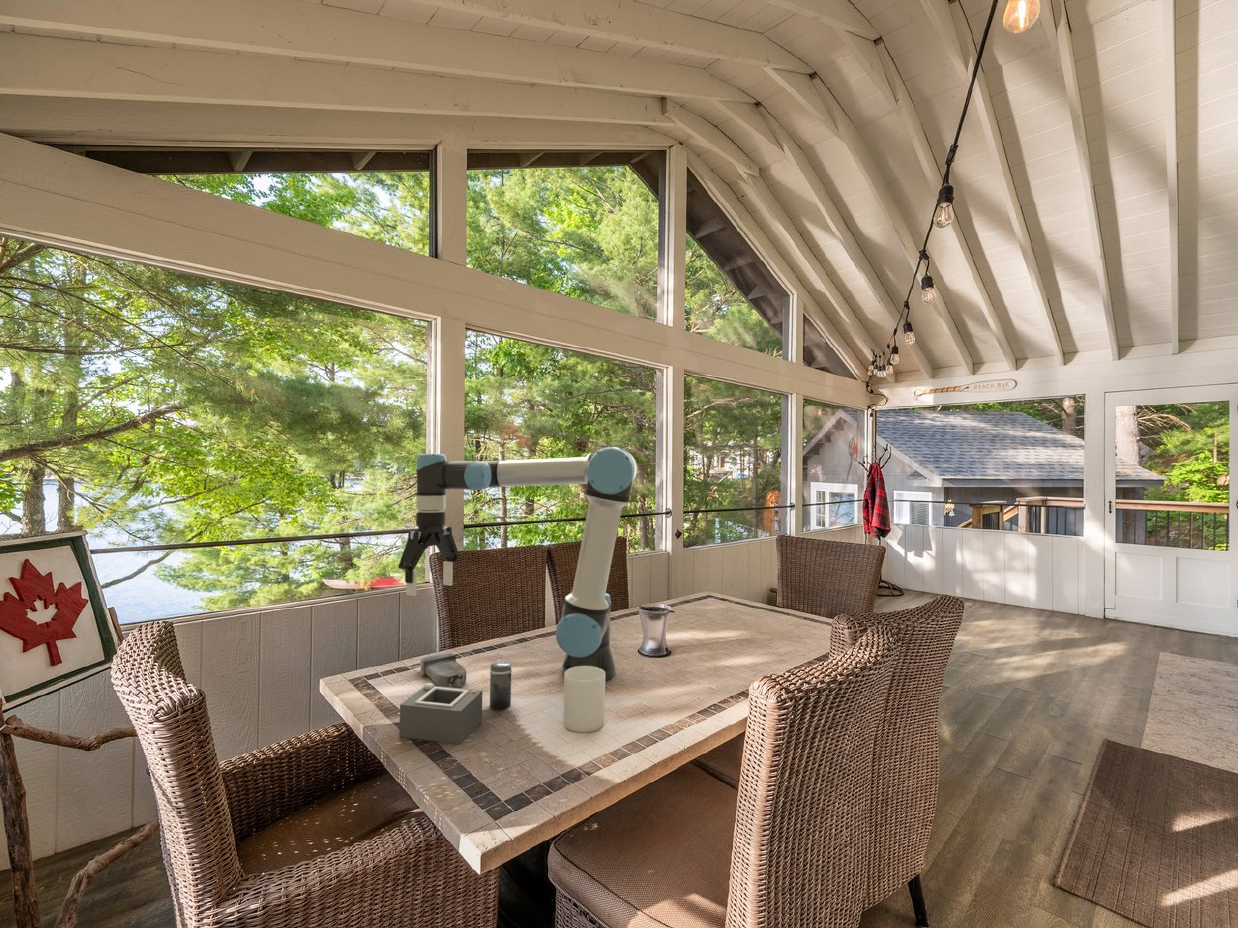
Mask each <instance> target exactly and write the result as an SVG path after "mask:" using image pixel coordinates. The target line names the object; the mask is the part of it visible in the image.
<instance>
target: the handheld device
mask: <svg viewBox="0 0 1238 928" xmlns="http://www.w3.org/2000/svg"><path fill="white" fill-rule="evenodd" d="M419 669H420V673H421V674H420V675H421V677H429V678H430V679H431V680H432V681H433V682H434V683H435V684H437V686H442V687H452V688H462V687H463V686H465V685H466V682H467V671H466V668H464V666H462V665H461V664H460V663H458V662H457V656H456V655H455V654H454V653H448V652H446V653H440V654H436V655H431V656H426V657H423V658H420V662H419Z"/></svg>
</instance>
